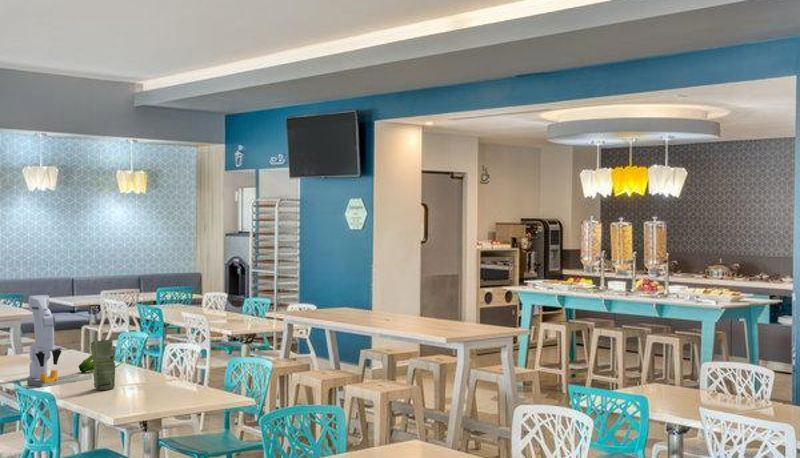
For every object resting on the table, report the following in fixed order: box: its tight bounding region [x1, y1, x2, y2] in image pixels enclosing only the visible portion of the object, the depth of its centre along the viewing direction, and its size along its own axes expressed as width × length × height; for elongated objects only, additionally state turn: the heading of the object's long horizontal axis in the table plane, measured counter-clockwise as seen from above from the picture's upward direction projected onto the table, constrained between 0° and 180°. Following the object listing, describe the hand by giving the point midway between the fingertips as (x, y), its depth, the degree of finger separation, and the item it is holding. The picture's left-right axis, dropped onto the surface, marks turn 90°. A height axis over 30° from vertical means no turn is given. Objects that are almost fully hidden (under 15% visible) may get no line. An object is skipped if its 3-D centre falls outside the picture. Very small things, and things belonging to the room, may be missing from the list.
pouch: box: [90, 337, 116, 391], centre depth 460 cm, size 11×12×25 cm
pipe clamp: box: [39, 369, 58, 383], centre depth 476 cm, size 12×4×6 cm, turn 171°
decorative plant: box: [78, 344, 132, 374], centre depth 520 cm, size 18×30×15 cm, turn 112°
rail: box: [26, 373, 93, 388], centre depth 482 cm, size 12×30×3 cm, turn 144°
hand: (48, 365), depth 477 cm, fingers open, 7 cm apart
